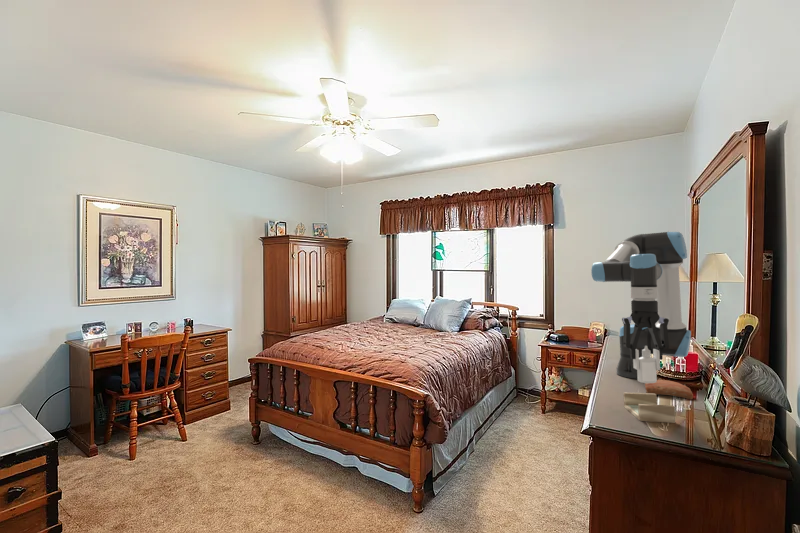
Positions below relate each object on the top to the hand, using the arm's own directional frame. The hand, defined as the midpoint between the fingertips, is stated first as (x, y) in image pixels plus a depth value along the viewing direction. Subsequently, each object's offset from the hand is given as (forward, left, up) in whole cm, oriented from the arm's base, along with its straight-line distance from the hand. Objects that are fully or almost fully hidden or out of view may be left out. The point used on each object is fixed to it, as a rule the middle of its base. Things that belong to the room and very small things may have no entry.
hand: (646, 368), depth 127 cm
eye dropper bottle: (0, 0, -5) cm, 5 cm away
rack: (0, 0, -15) cm, 15 cm away
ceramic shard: (-27, +17, -16) cm, 35 cm away
